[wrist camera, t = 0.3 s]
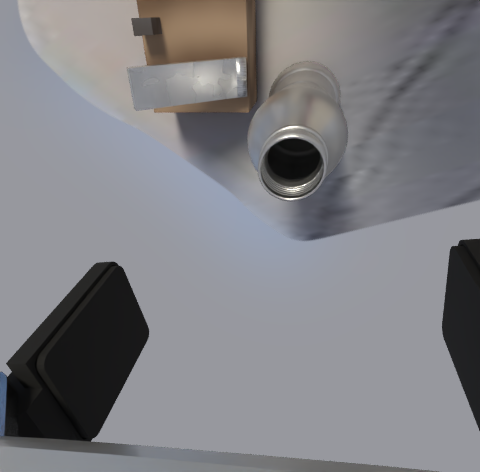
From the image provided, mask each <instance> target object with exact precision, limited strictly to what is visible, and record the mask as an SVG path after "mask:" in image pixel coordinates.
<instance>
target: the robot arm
mask: <svg viewBox="0 0 480 472" xmlns="http://www.w3.org/2000/svg"><path fill="white" fill-rule="evenodd" d="M442 331H443V337H444V340H445V342H446V345H447V348H448V350H449V353H450V355H451V358H452V361H453V363H454V366H455V368H456V371H457V374H458V376H459V379H460V381H461V384H462V387H463V389H464V391H465V394H466V397H467V399H468V402H469V405H470V407H471V410H472V412H473V415H474V418H475V420H476V423H477V425H478V428H479V430H480V239H470V240H461V241H459V244H458V246H452V247H451V249H450V256H449V266H448V274H447V284H446V293H445V303H444V312H443V321H442ZM148 337H149V328H148V325H147V323H146V321H145V319H144V316H143V314H142V311H141V309H140V307H139V305H138V302H137V300H136V297H135V295H134V293H133V290H132V288H131V286H130V283H129V281H128V279H127V276H126V274H125V272H124V269H123V268H122V267H121V266H119V265H118V264H117V263H115V262H102V263H96V264H95V265H94V266H93V267H92V268H91V269H90V270H89V271H88V272H87V273H86V274H85V276H84V277H83V278H82V279H81V280H80V281H79V282H78V283H77V285H76V286H75V287H74V288H73V289H72V290H71V291H70V293H69V294H68V295H67V296H66V297H65V298H64V299H63V300H62V301H61V302H60V304H59V305H58V306H57V307H56V308H55V309H54V310H53V312H52V313H51V314H50V315H49V316H48V317H47V318H46V319H45V320H44V322H43V323H42V324H41V325H40V326H39V327H38V328H37V329H36V331H35V332H34V333H33V334H32V335H31V336H30V337H29V338H28V339H27V341H26V342H25V343H24V344H23V345H22V346H21V347H20V349H19V350H18V351H17V352H16V353H15V354H14V355H13V356H12V357H11V359H10V360H9V361H8V362H7V363H6V364H7V365H8V367H9V368H10V369H11V371H12V373H11V374H10V375H9V376H8V377H7V376H6V375H5V374H4V373H3V372H0V472H437V471H428V470H418V469H408V468H399V467H388V466H378V465H367V464H356V463H344V462H333V461H321V460H310V459H299V458H287V457H275V456H264V455H252V454H239V453H228V452H215V451H203V450H191V449H179V448H165V447H154V446H141V445H127V444H115V443H102V442H101V443H100V442H91V440H92V438H95V437H96V436H97V435H98V433H99V432H100V430H101V428H102V426H103V424H104V422H105V420H106V418H107V416H108V415H109V413H110V411H111V409H112V407H113V405H114V403H115V401H116V399H117V397H118V395H119V393H120V391H121V390H122V388H123V386H124V384H125V382H126V380H127V378H128V376H129V374H130V372H131V371H132V368H133V367H134V365H135V363H136V361H137V359H138V357H139V355H140V353H141V351H142V349H143V348H144V346H145V344H146V342H147V339H148Z"/></svg>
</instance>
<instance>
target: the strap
mask: <svg viewBox="0 0 480 472" xmlns="http://www.w3.org/2000/svg"><path fill="white" fill-rule="evenodd" d="M127 72H128V78H129V83H130V88H131V94H132V99H133V105H134V109H135V110H136V111H139V110H147V109H155V108H162V107H170V106H177V105H185V104H193V103H200V102H208V101H215V100H223V99H231V98H242V97H247V69H246V57H233V58H224V59H213V60H201V61H190V62H179V63H168V64H157V65H146V66H135V67H127Z"/></svg>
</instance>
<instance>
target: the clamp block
mask: <svg viewBox="0 0 480 472" xmlns="http://www.w3.org/2000/svg"><path fill="white" fill-rule="evenodd" d="M137 5H138V12H139V18H131V19H132V25H133V31H134V36H142V37H143V43H144V50H145V56H146V62H147V65H157V64H168V63H179V62H190V61H201V60H213V59H224V58H233V57H246V69H247V97H242V98H231V99H223V100H215V101H208V102H200V103H193V104H185V105H177V106H170V107H162V108H155V109H154V112H250V110H251V109H252V107H253V106H254V104H255V103H256V102H257V76H256V16H255V0H137Z"/></svg>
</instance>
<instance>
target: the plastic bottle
mask: <svg viewBox="0 0 480 472" xmlns="http://www.w3.org/2000/svg"><path fill="white" fill-rule="evenodd" d="M339 104H340V87H339V84H338V81H337V79H336V77H335V76H334V74H333V73H332V72H331V71H330V70H329V69H328V68H327V67H325V66H324V65H322V64H319V63H316V62H309V61H306V62H299V63H296V64H293V65H291V66H289V67H288V68H286V69H285V70H284V71H283V72H281V73H280V74H279V76H278V77H277V78H276V79H275V81H274V83H273V85H272V87H271V90H270V93H269V98H268V99H267V100H266V101H265V102H264V103H263V104H262V105H261V106H260V107H259V109H258V110H257V111H256V113H255V114H254V116H253V118H252V120H251V123H250V126H249V129H248V136H247V145H248V152H249V155H250V158H251V161H252V163H253V165H254V167H255V169H256V170H257V172H258V176H259V179H260V182H261V184H262V186H263V187H264V189H265V190H266V191H267V192H268V193H269V194H271V195H272V196H274V197H276V198H278V199H281V200H285V201H297V200H301V199H304V198H306V197H308V196H310V195H312V194H313V193H314V192H315V191H316V190H318V188H319V187H320V186H321V184H322V183H323V181H324V179H325V178H326V177H327V176H328V175H329V174H330V173H331V172H332V171H333V170H334V169H335V167H336V166H337V165H338V163H339V162H340V161H341V159H342V156H343V154H344V152H345V149H346V145H347V139H348V129H347V122H346V119H345V117H344V114H343V112H342V110H341V108H340V107H339Z"/></svg>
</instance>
